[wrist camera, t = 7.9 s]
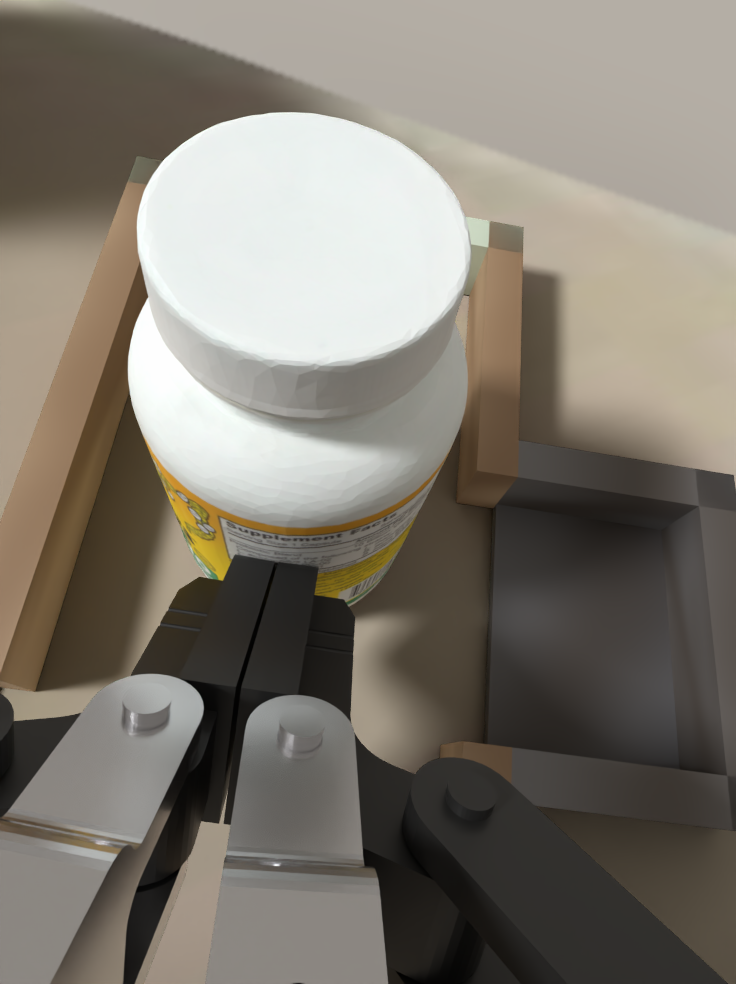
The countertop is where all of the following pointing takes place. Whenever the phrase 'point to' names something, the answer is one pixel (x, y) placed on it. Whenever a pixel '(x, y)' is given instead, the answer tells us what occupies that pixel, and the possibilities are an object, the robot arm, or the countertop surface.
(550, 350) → the countertop surface
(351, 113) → the countertop surface
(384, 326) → the supplement bottle
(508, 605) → the trap runway
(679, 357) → the countertop surface
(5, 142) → the countertop surface
